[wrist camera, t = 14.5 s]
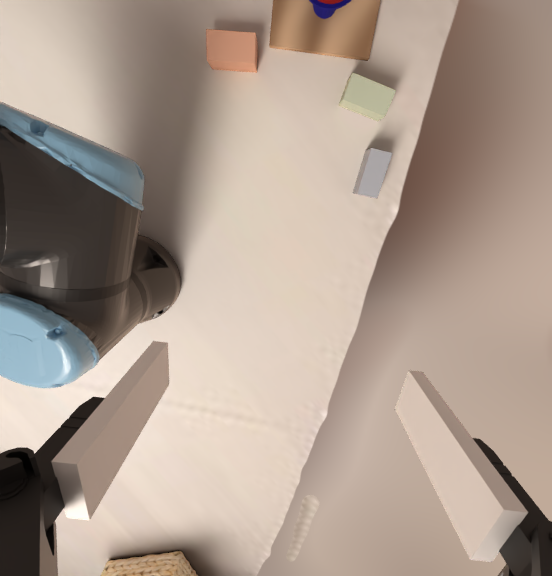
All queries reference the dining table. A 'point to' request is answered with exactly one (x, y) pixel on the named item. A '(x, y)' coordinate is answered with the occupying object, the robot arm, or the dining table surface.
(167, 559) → the basket
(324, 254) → the dining table surface
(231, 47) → the terracotta brick
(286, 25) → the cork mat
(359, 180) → the slate brick
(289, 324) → the dining table surface
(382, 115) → the sage brick
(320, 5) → the toy
